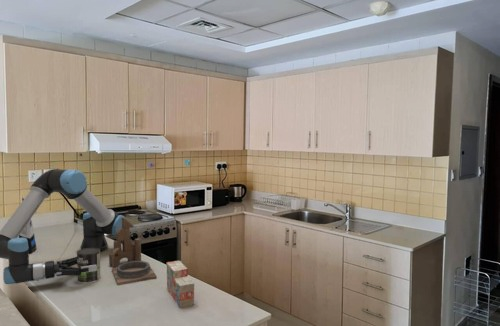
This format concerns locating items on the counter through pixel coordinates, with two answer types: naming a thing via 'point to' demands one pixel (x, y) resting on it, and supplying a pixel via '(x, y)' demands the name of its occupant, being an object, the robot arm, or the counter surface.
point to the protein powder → (29, 236)
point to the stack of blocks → (180, 284)
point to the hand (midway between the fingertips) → (95, 263)
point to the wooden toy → (125, 246)
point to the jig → (133, 272)
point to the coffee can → (86, 259)
